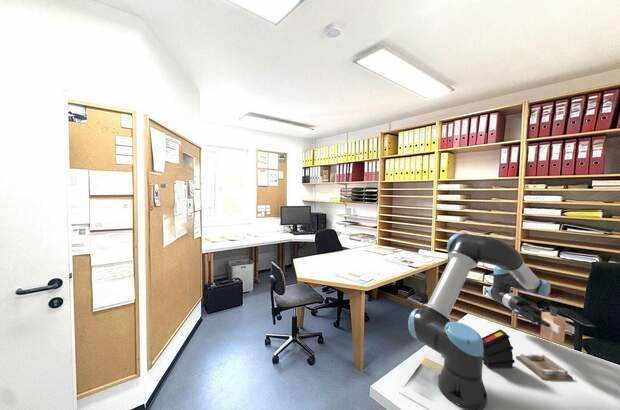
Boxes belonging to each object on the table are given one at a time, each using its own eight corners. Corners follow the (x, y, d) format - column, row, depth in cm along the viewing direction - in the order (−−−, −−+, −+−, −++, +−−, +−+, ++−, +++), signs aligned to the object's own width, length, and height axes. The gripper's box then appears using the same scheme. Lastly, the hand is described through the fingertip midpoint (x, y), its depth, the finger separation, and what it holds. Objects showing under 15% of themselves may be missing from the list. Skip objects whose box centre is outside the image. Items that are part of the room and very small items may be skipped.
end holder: (541, 379, 94) (542, 373, 94) (515, 358, 106) (516, 352, 106) (572, 379, 94) (572, 373, 94) (543, 358, 106) (543, 353, 106)
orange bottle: (551, 341, 98) (553, 310, 98) (540, 334, 103) (542, 305, 103) (564, 342, 98) (566, 311, 98) (552, 334, 103) (553, 305, 103)
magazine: (521, 364, 99) (508, 333, 98) (493, 378, 99) (479, 347, 98) (513, 358, 103) (500, 328, 102) (486, 371, 103) (473, 341, 102)
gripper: (534, 311, 118) (588, 340, 95) (497, 310, 119) (542, 338, 95) (535, 297, 118) (589, 321, 95) (498, 295, 118) (543, 320, 95)
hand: (566, 330), depth 95 cm, fingers closed on orange bottle, 5 cm apart
